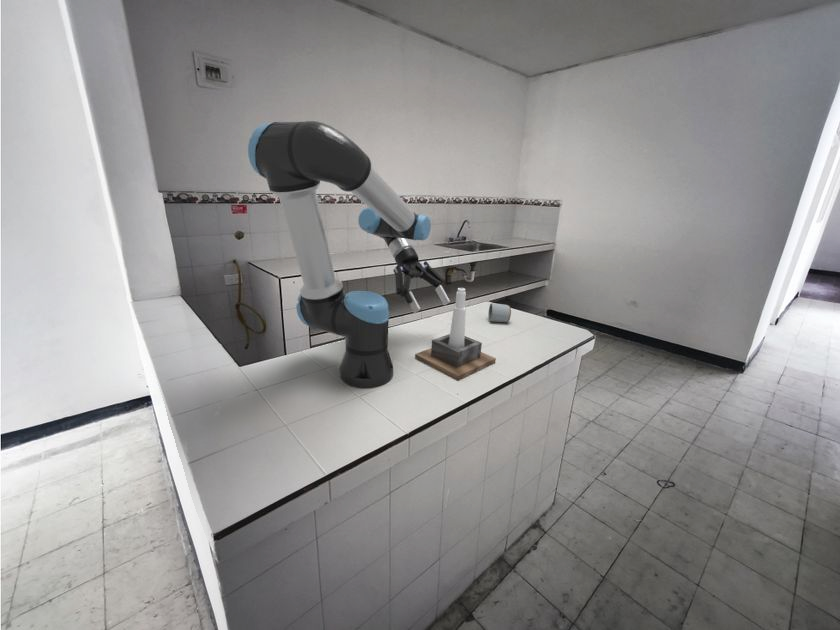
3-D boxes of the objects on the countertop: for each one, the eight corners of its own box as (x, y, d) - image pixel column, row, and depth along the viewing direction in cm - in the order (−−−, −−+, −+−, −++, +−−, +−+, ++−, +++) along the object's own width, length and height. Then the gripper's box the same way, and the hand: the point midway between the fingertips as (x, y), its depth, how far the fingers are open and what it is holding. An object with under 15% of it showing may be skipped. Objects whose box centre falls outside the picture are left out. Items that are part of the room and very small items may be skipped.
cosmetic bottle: (442, 354, 117) (447, 287, 109) (457, 350, 120) (463, 285, 112) (453, 361, 112) (459, 292, 105) (468, 357, 115) (476, 290, 108)
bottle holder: (458, 380, 104) (460, 359, 102) (415, 358, 116) (416, 339, 114) (495, 362, 116) (497, 343, 114) (452, 343, 128) (454, 326, 126)
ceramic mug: (510, 325, 149) (512, 306, 147) (490, 323, 149) (492, 305, 147) (504, 316, 159) (507, 299, 157) (486, 315, 159) (488, 298, 157)
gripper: (424, 256, 135) (451, 305, 130) (369, 263, 118) (397, 320, 113) (435, 243, 130) (464, 295, 124) (379, 249, 113) (409, 308, 108)
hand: (432, 307), depth 119 cm, fingers open, 13 cm apart
